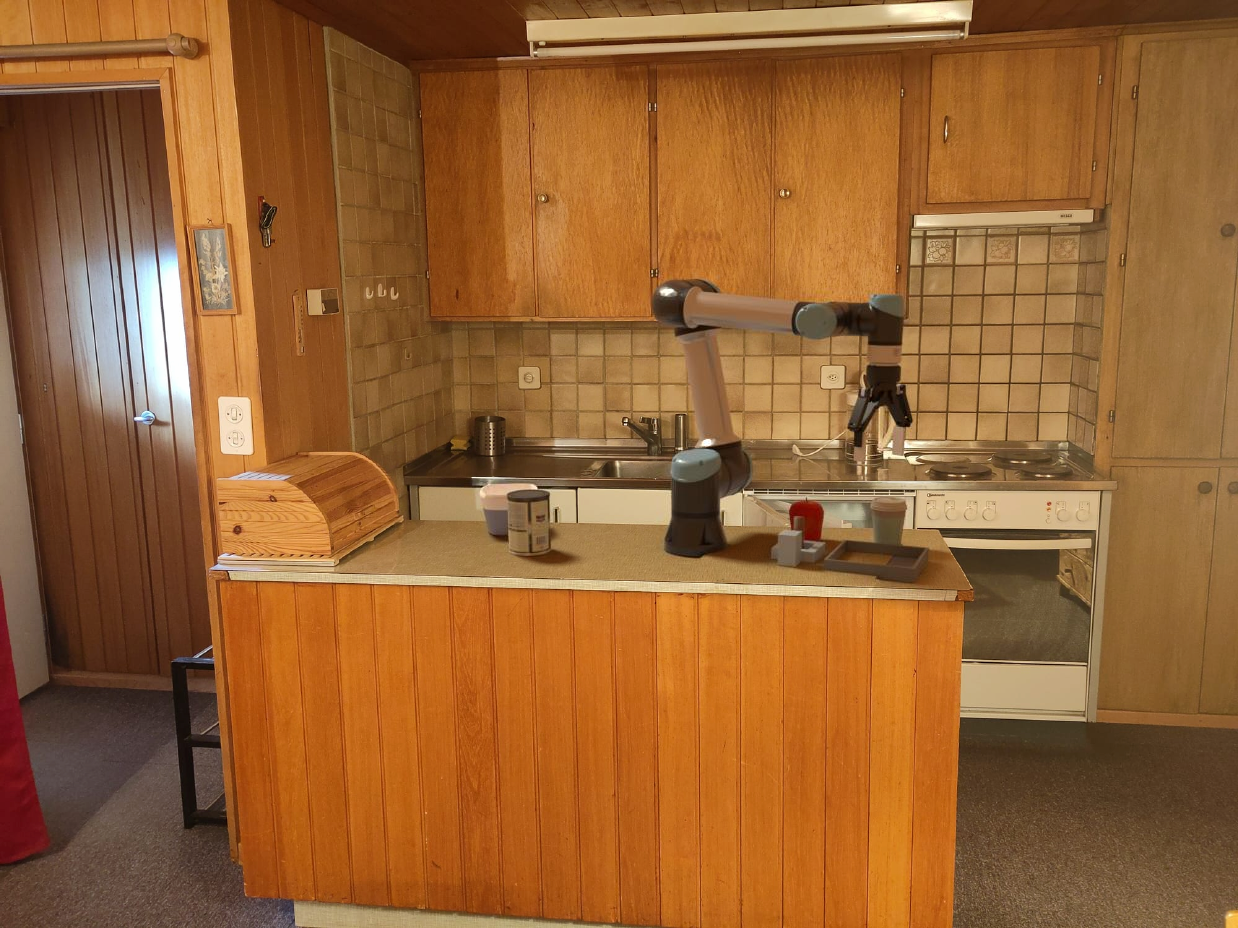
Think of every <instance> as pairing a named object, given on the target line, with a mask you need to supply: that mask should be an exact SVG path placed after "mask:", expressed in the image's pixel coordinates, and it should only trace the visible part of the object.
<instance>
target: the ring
mask: <svg viewBox="0 0 1238 928" xmlns="http://www.w3.org/2000/svg"><path fill="white" fill-rule="evenodd" d="M801 546H802V531H794V530H791V529H783V530H782V531H781V532H779V533H778V534H777V543H776V544H775V545H774V546H772V547H770V549H771V553H770V555H771V556H770V557H771V558H773V559H772V560H775V559H778V560H777V565H778V566H783V567H791V568H792V567H795V568H796V567H797V566H798V565H799V564H800V563H803V562H811V563H810V564H813V563H815V562H816V561H817V560H818V559H819V558H820V557H821V556H822V555H823V554H824V553H825V552H826V542H825V541H823V542H822V541H818V542H816V541H805V540H804V549H801Z"/></svg>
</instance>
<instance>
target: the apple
mask: <svg viewBox="0 0 1238 928" xmlns="http://www.w3.org/2000/svg"><path fill="white" fill-rule="evenodd" d="M788 515H789V525H790V530H794V517H795V516H803V517H805V522H804V540H805V541H816V542H820V540H821V539H822V531H823V525H824V518H825V510H824V508H823V506H822V505H821V504H820V503H819V502H816V501H812V500H808V497H807V496H805V500H801V501H800V500H799V501H796V502H794V503H791V504H790V507H789V509H788Z"/></svg>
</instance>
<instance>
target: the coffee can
mask: <svg viewBox="0 0 1238 928" xmlns="http://www.w3.org/2000/svg"><path fill="white" fill-rule="evenodd" d="M550 497H551V492H550V491H548V490H545V489H544V490H543V489H538V490H536V489H528V490H517V491H512V492H509V493H507V504H508V531H509V535H508V552H509V554H511V555H515V556H519V557H520V556H522V557H534V556H535V557H536V556H541V555H546V554H548V553H550V552H551V551H552V543H551V541H552V539H551V534H552V533H551V505H550V504H551V503H550V501H551V500H550Z"/></svg>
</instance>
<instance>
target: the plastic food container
mask: <svg viewBox="0 0 1238 928" xmlns="http://www.w3.org/2000/svg"><path fill="white" fill-rule="evenodd" d="M528 489H536V490H539V489H538V486H536V485H535V484H533V483H502V484H501V483H499V484H486V485H484V486H483V487H482V488H480V491H479V498H480V501H481V502H480V503H481V506H482V509H483V515H484V518H485V523H486V527H487V531H488V533H489V534H491V535H492V536H505V537H506V536H507V537H508V536H509V531H508V504H507V493H509V492H512V491H517V490H528Z"/></svg>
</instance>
